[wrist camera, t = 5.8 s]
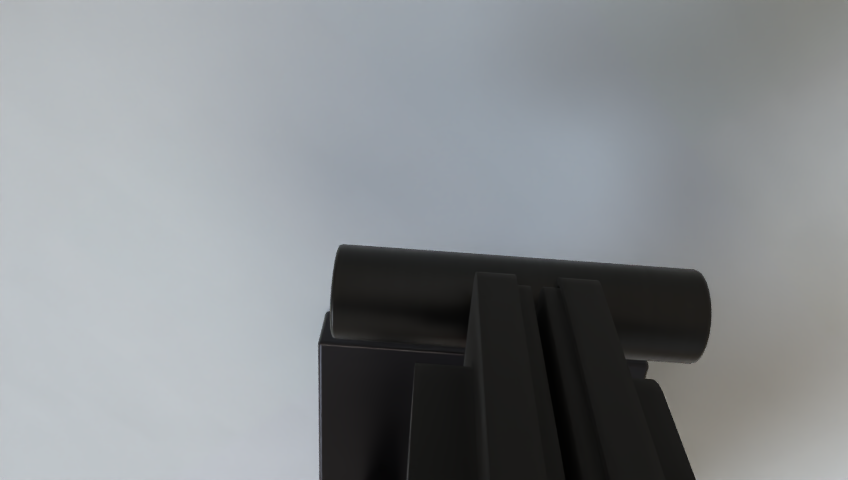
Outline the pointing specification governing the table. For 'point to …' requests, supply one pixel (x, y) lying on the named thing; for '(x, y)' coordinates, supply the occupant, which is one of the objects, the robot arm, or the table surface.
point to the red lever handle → (454, 276)
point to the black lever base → (375, 403)
